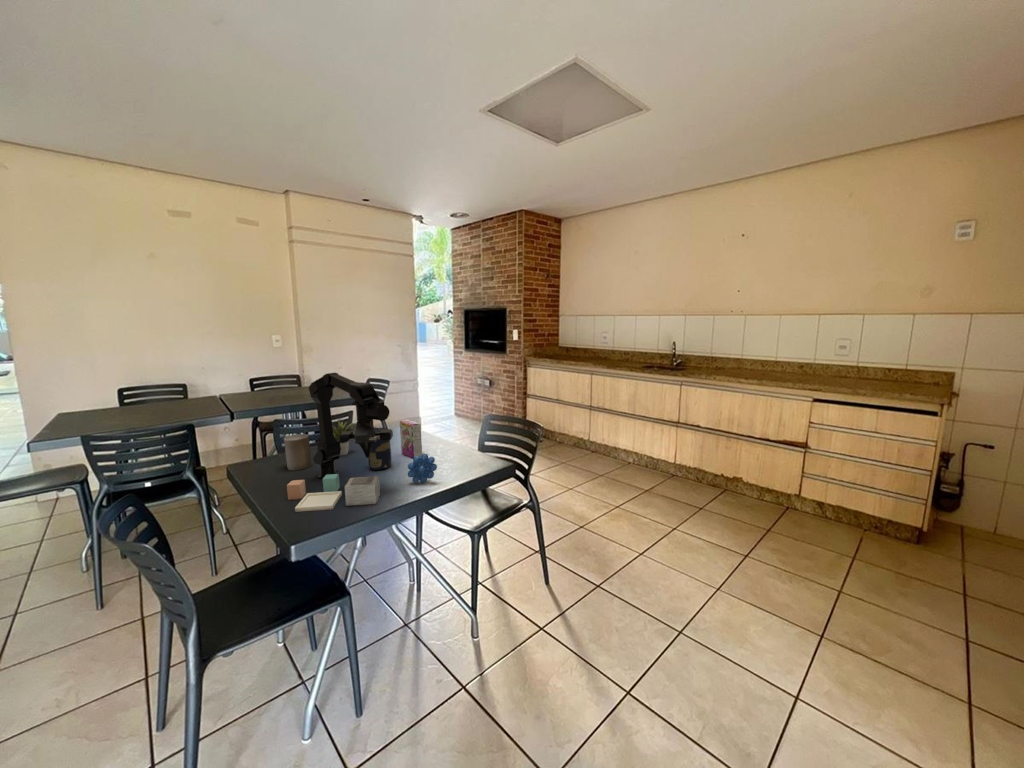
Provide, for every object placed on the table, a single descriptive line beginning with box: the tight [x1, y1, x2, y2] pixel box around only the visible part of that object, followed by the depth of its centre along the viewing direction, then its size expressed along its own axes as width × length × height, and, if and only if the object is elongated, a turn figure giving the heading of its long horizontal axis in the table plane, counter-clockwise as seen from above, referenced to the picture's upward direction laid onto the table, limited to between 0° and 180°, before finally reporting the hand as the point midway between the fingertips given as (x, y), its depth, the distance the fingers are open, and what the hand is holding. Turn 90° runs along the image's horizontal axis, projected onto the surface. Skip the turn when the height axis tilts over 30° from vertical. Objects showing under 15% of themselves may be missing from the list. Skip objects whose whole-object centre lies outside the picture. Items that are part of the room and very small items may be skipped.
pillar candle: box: [283, 433, 313, 471], centre depth 180 cm, size 10×10×15 cm
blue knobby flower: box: [407, 453, 438, 484], centre depth 161 cm, size 12×7×12 cm, turn 92°
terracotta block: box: [286, 479, 307, 501], centre depth 150 cm, size 4×4×6 cm
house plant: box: [333, 421, 356, 457], centre depth 195 cm, size 14×14×16 cm
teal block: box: [322, 473, 340, 492], centre depth 155 cm, size 4×4×6 cm
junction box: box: [344, 475, 381, 507], centre depth 146 cm, size 8×10×7 cm
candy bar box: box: [399, 419, 423, 459], centre depth 193 cm, size 11×5×16 cm, turn 45°
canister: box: [367, 427, 392, 471], centre depth 177 cm, size 10×10×18 cm
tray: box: [294, 490, 343, 513], centre depth 144 cm, size 12×12×1 cm
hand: (367, 457), depth 155 cm, fingers closed
